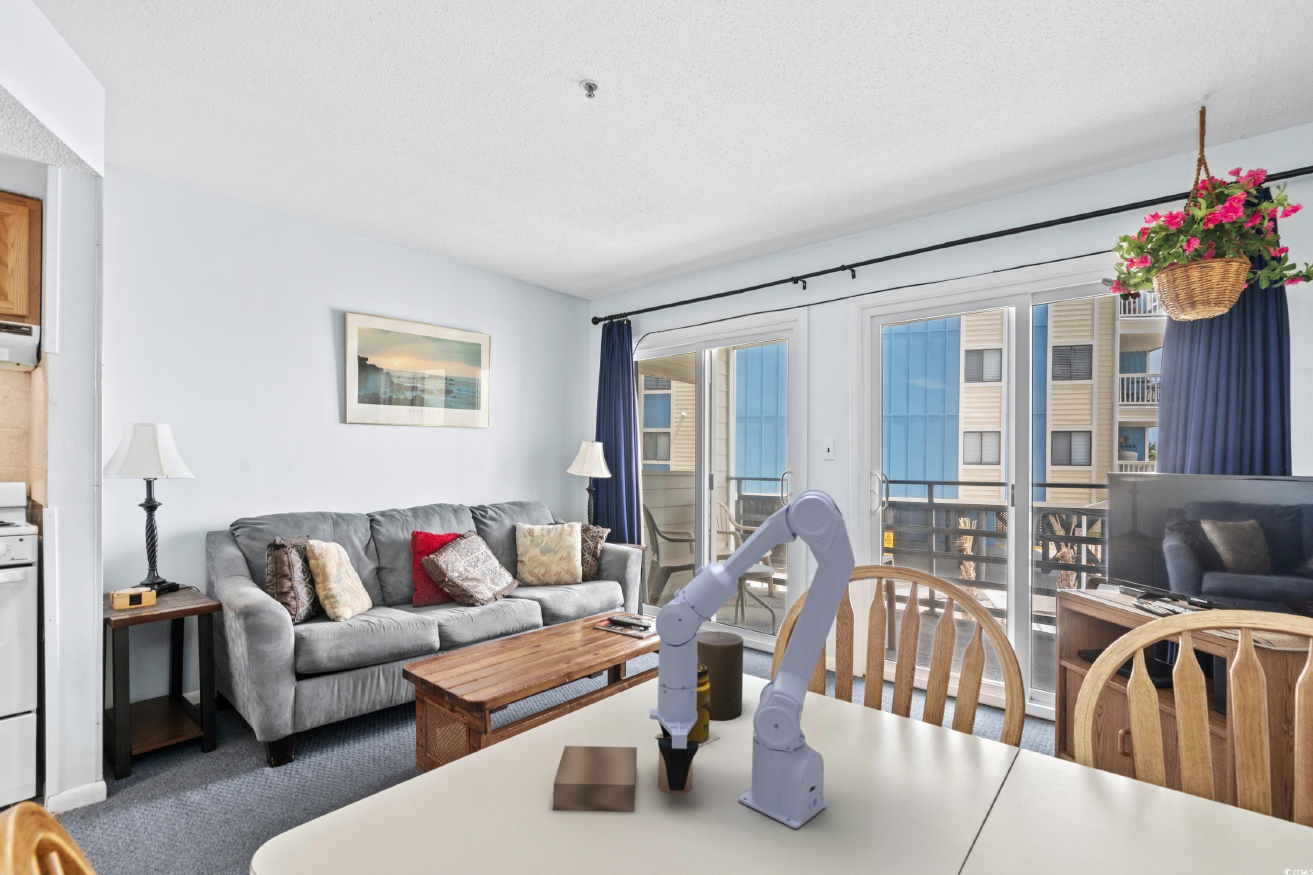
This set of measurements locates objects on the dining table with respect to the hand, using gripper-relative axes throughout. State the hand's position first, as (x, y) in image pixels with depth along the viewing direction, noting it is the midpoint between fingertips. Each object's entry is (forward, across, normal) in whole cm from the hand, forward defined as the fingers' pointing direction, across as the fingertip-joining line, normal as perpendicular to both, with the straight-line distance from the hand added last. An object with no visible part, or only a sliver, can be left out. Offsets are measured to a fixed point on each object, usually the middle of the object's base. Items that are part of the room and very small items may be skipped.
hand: (675, 775), depth 94 cm
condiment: (+2, -16, +3) cm, 16 cm away
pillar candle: (+2, -28, +9) cm, 29 cm away
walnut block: (+2, +1, -11) cm, 12 cm away
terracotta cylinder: (+2, 0, 0) cm, 2 cm away
